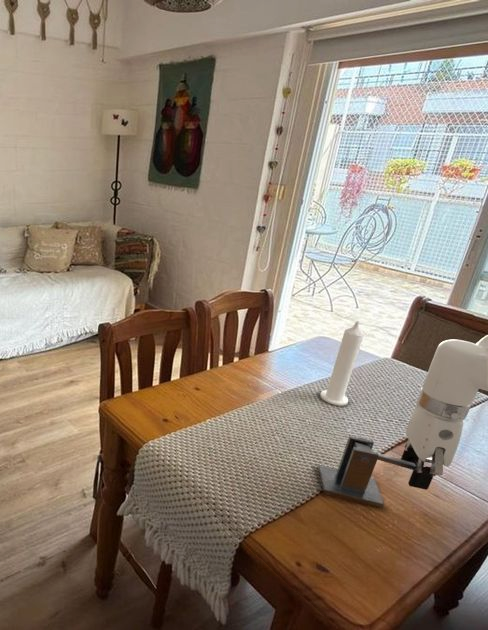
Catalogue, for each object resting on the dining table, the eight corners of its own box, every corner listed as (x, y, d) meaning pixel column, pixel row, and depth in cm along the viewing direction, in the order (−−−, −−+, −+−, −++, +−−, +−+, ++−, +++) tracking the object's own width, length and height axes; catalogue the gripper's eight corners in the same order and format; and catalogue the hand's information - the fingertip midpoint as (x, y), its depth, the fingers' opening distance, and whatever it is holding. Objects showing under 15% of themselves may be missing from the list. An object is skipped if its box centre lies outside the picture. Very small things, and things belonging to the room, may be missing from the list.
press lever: (412, 464, 92) (417, 455, 91) (420, 481, 88) (426, 472, 87) (349, 446, 95) (353, 437, 94) (354, 461, 91) (359, 452, 90)
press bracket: (372, 481, 98) (388, 439, 93) (382, 508, 91) (400, 464, 86) (317, 468, 101) (330, 427, 97) (323, 493, 94) (337, 450, 90)
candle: (324, 389, 133) (347, 313, 123) (350, 399, 128) (376, 321, 118) (316, 398, 128) (339, 320, 118) (343, 408, 124) (369, 328, 114)
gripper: (489, 434, 75) (451, 513, 82) (448, 384, 90) (419, 454, 97) (436, 425, 77) (404, 502, 84) (405, 377, 92) (380, 446, 99)
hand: (412, 476), depth 90 cm, fingers closed on press lever, 5 cm apart
